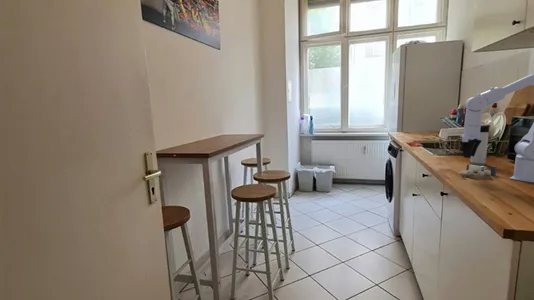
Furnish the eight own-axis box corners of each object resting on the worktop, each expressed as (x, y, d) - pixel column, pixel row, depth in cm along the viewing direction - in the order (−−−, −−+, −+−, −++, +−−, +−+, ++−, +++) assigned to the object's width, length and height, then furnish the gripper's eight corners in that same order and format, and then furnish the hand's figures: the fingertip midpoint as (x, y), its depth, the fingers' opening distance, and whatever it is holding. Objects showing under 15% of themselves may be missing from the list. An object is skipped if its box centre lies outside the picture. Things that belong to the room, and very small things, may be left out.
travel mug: (488, 165, 144) (493, 125, 141) (473, 165, 146) (478, 125, 142) (481, 162, 150) (486, 124, 147) (467, 162, 152) (471, 124, 148)
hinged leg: (487, 172, 125) (487, 166, 124) (485, 173, 123) (486, 167, 123) (468, 169, 130) (468, 163, 130) (466, 170, 129) (466, 164, 128)
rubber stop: (495, 174, 126) (496, 166, 125) (493, 175, 125) (495, 167, 124) (491, 174, 127) (492, 165, 127) (490, 175, 126) (491, 166, 125)
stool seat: (493, 176, 124) (494, 169, 124) (485, 180, 118) (486, 173, 117) (464, 171, 133) (465, 165, 132) (455, 175, 126) (456, 168, 126)
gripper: (467, 123, 130) (464, 153, 132) (455, 126, 121) (452, 157, 123) (486, 124, 124) (483, 155, 127) (474, 127, 115) (471, 160, 118)
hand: (469, 156), depth 125 cm, fingers open, 4 cm apart
